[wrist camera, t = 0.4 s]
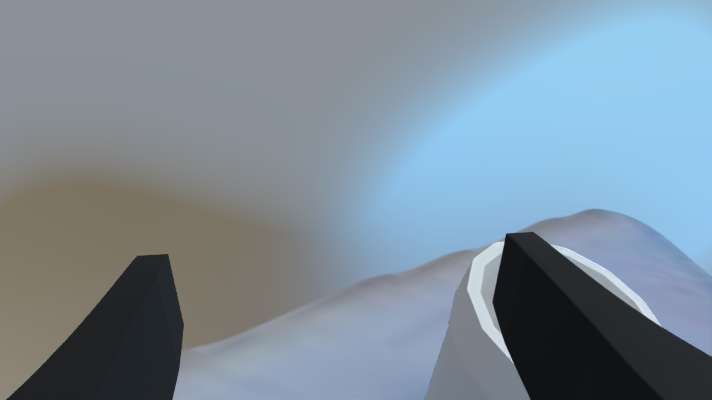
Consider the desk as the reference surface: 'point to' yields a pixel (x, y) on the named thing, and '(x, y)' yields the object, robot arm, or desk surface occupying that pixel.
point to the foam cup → (495, 333)
